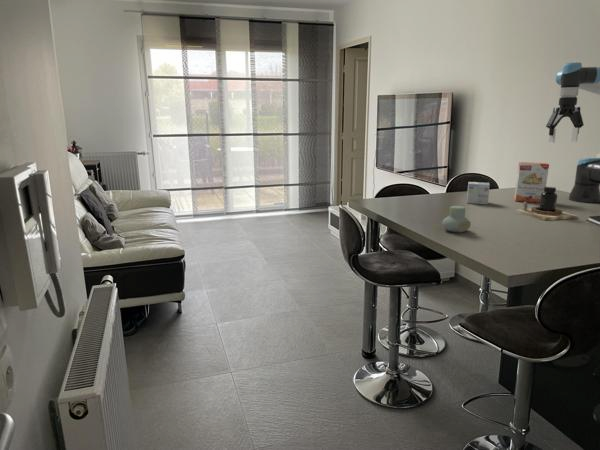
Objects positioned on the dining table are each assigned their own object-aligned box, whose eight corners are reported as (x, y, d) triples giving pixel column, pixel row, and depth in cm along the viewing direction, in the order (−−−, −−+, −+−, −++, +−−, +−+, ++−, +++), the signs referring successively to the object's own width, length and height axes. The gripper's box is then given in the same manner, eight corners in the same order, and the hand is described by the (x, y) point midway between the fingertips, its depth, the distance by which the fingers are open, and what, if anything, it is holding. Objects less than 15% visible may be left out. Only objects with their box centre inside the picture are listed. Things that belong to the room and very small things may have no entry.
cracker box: (515, 201, 247) (520, 162, 242) (513, 199, 253) (518, 161, 248) (544, 203, 243) (549, 163, 238) (541, 201, 249) (547, 162, 244)
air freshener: (453, 234, 182) (456, 210, 179) (438, 230, 189) (440, 206, 186) (473, 231, 187) (475, 207, 184) (457, 227, 194) (459, 203, 191)
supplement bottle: (556, 214, 212) (560, 188, 209) (541, 213, 213) (544, 188, 210) (552, 211, 218) (555, 186, 215) (536, 210, 220) (540, 185, 217)
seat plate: (547, 210, 227) (548, 199, 225) (577, 218, 210) (578, 207, 208) (516, 211, 222) (517, 201, 221) (544, 220, 205) (545, 209, 204)
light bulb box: (487, 202, 245) (489, 182, 242) (488, 204, 239) (490, 184, 236) (466, 201, 248) (468, 181, 246) (466, 203, 242) (468, 183, 239)
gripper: (582, 96, 226) (576, 140, 231) (541, 97, 219) (536, 142, 224) (595, 96, 219) (589, 141, 224) (553, 97, 212) (548, 143, 217)
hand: (562, 141), depth 224 cm, fingers open, 13 cm apart
